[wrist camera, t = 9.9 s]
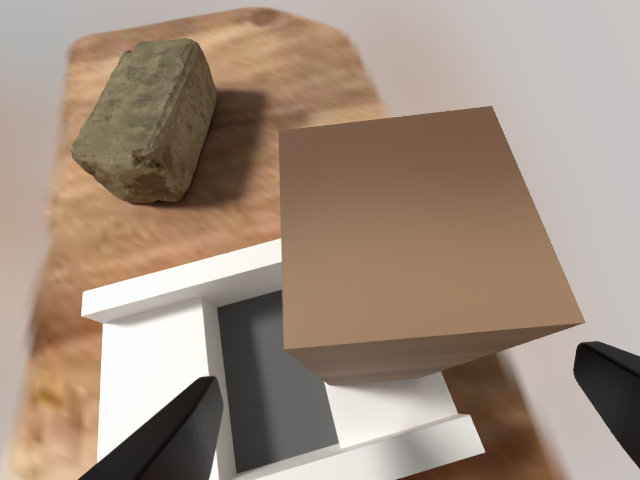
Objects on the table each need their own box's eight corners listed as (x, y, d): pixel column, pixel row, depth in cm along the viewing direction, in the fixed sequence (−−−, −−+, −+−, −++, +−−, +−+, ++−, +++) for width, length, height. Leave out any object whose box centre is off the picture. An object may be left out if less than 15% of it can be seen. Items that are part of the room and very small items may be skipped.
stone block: (225, 91, 27) (200, 31, 23) (191, 210, 22) (151, 163, 18) (159, 92, 28) (123, 33, 23) (112, 208, 23) (54, 162, 18)
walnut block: (421, 377, 14) (585, 322, 4) (329, 385, 14) (283, 349, 4) (404, 288, 16) (492, 106, 6) (322, 296, 16) (278, 130, 6)
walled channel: (453, 440, 15) (485, 452, 12) (132, 537, 15) (61, 581, 11) (378, 245, 20) (385, 210, 16) (132, 312, 19) (83, 291, 16)
